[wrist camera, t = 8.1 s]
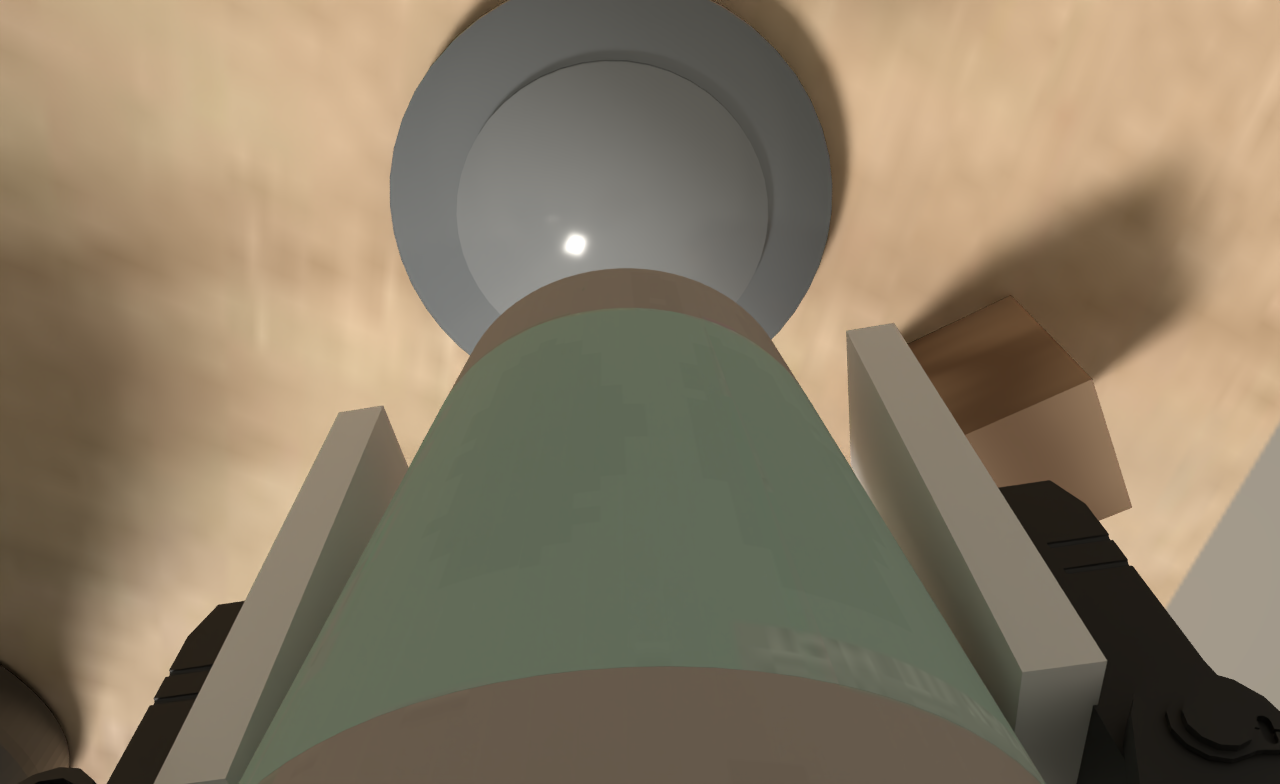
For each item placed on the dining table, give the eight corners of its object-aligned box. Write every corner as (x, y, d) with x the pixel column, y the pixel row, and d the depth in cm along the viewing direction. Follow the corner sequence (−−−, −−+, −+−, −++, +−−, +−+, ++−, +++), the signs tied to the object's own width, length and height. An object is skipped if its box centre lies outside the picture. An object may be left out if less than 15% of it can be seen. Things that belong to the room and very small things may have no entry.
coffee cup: (507, 633, 17) (363, 1714, 7) (277, 289, 13) (-961, 1853, 3) (908, 521, 16) (1432, 1659, 6) (805, 94, 11) (2267, 1743, 1)
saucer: (465, 418, 27) (461, 437, 26) (329, 24, 20) (316, 31, 19) (833, 358, 26) (842, 376, 25) (814, -70, 19) (824, -67, 18)
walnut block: (910, 471, 29) (963, 574, 24) (858, 365, 26) (906, 460, 22) (1050, 410, 27) (1131, 507, 23) (1009, 293, 25) (1092, 379, 21)
